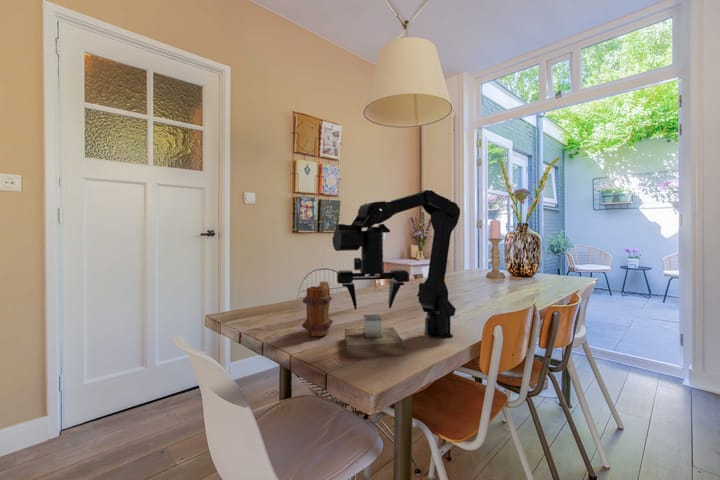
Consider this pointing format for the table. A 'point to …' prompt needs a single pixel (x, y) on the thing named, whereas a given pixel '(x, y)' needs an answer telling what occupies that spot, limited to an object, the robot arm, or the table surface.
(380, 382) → the table surface
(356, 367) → the table surface
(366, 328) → the column
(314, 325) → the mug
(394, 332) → the stand block
